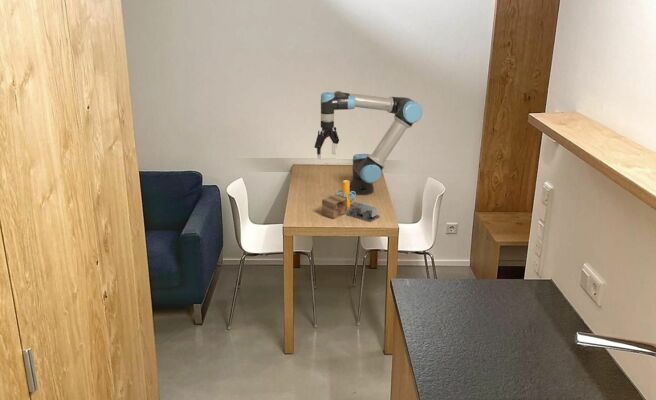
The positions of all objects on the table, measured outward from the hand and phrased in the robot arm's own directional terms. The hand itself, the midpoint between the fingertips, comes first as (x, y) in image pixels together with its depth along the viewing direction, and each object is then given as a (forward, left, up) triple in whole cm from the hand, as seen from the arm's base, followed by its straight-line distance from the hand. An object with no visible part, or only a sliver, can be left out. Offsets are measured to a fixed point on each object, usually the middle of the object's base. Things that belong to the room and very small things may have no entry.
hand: (326, 157), depth 352 cm
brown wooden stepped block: (+15, +18, -27) cm, 35 cm away
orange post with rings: (0, +14, -27) cm, 30 cm away
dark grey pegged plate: (+7, +30, -27) cm, 41 cm away
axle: (+7, +31, -25) cm, 40 cm away
